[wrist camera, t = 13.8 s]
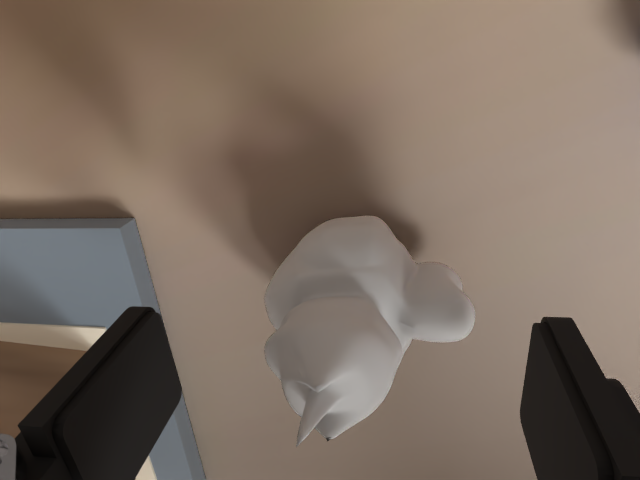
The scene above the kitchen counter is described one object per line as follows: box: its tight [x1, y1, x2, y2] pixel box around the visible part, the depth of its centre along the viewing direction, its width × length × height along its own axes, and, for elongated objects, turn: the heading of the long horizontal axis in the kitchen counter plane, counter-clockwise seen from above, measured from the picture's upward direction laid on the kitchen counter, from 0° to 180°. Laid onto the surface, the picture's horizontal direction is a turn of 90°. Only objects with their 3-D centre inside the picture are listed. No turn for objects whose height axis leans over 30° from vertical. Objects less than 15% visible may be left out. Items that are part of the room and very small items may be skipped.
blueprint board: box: [0, 218, 206, 480], centre depth 22 cm, size 20×12×1 cm, turn 5°
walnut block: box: [0, 341, 136, 480], centre depth 20 cm, size 9×6×5 cm, turn 1°
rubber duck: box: [264, 216, 475, 447], centre depth 13 cm, size 5×7×8 cm
